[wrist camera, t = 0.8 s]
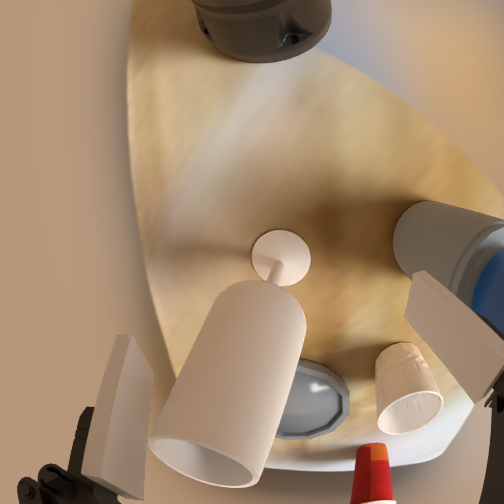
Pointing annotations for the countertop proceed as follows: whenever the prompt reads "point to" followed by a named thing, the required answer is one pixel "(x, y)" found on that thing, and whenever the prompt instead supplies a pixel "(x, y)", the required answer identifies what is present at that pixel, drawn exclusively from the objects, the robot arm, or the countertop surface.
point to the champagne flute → (238, 373)
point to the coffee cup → (372, 476)
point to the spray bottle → (455, 253)
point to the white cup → (404, 390)
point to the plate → (313, 402)
